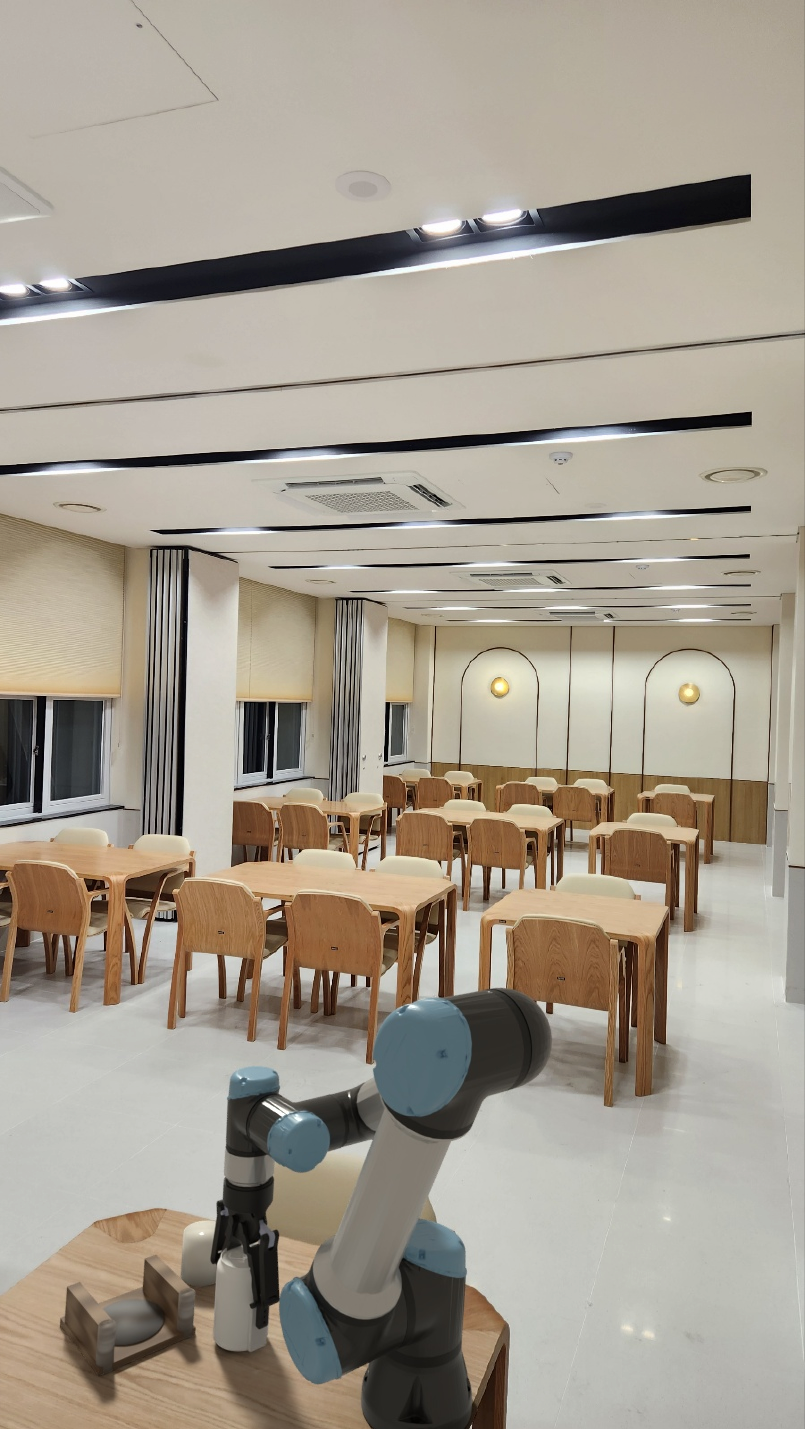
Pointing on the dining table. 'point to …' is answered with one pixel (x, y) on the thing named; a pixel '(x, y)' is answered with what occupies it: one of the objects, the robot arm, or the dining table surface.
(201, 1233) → the white pillar candle
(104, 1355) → the wooden holder
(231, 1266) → the beverage can
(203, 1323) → the dining table surface
